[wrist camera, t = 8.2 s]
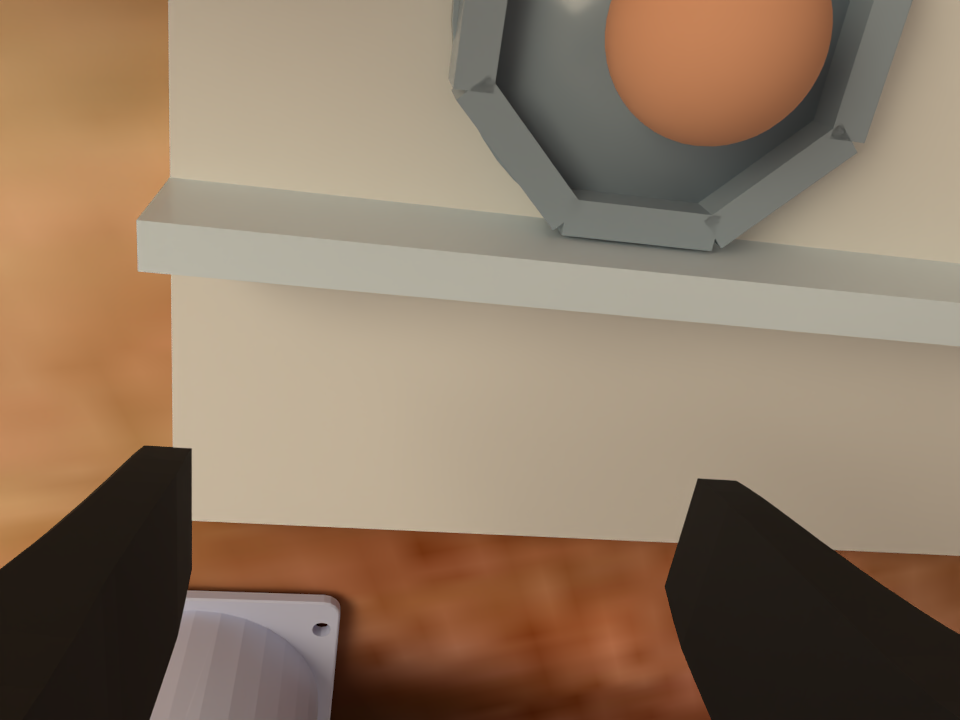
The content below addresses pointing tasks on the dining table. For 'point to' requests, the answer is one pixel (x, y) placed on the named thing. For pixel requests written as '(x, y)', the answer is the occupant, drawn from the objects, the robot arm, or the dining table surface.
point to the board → (537, 318)
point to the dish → (636, 148)
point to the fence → (537, 264)
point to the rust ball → (715, 63)
